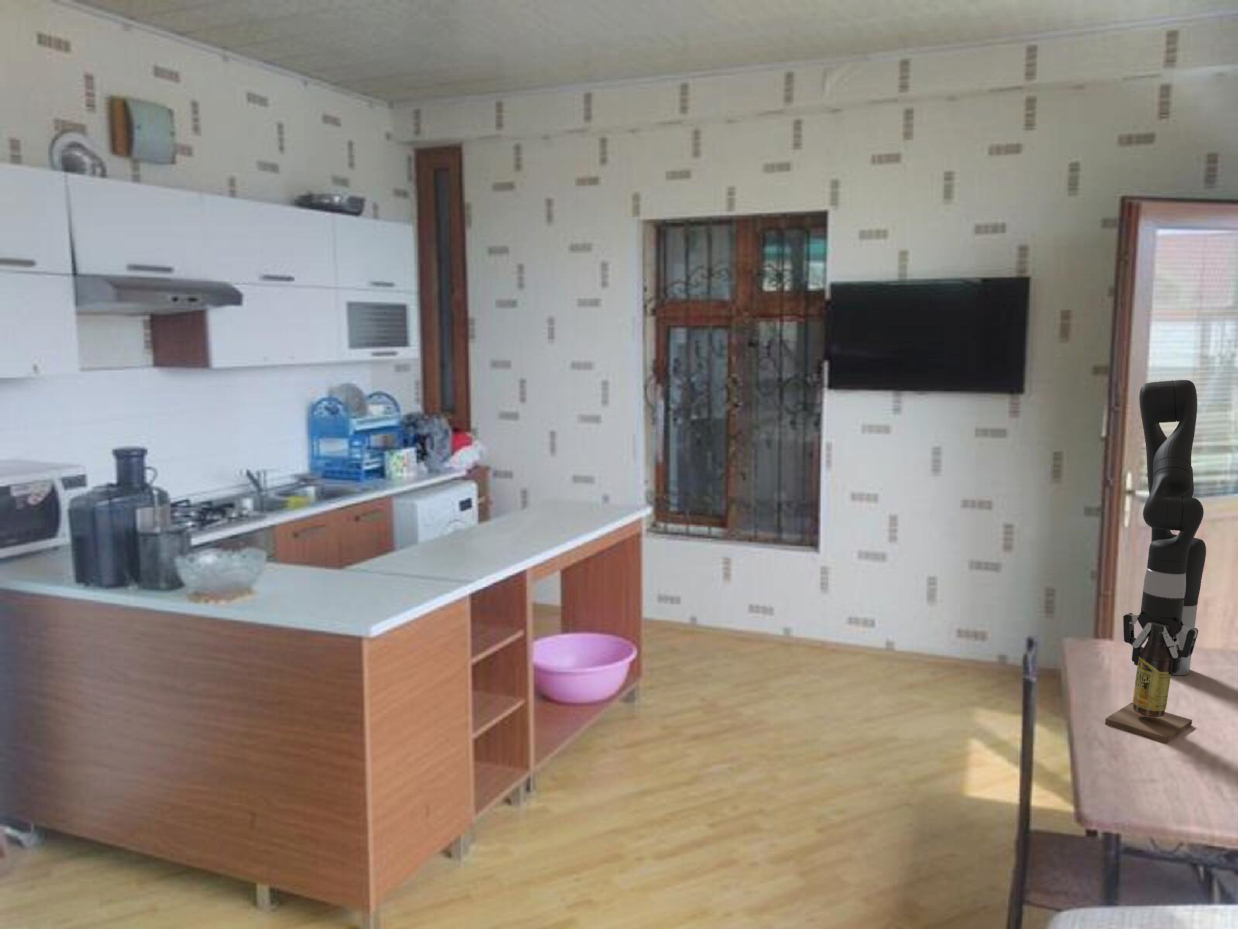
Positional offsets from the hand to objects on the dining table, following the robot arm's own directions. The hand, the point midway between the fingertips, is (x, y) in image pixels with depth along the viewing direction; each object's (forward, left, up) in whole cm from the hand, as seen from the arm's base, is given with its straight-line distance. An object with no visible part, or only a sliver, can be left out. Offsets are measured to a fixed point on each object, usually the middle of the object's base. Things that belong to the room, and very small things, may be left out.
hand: (1154, 669), depth 204 cm
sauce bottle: (0, 0, -10) cm, 10 cm away
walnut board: (0, 0, -12) cm, 12 cm away
